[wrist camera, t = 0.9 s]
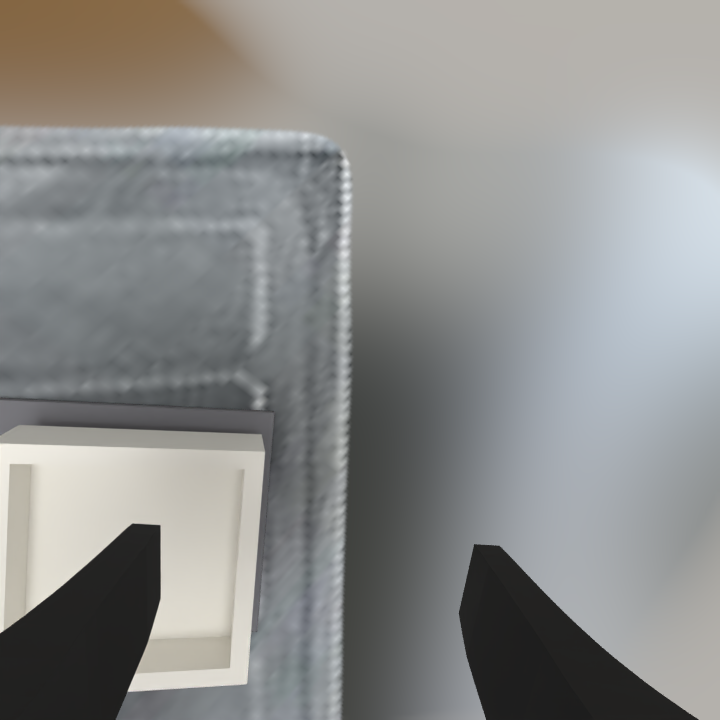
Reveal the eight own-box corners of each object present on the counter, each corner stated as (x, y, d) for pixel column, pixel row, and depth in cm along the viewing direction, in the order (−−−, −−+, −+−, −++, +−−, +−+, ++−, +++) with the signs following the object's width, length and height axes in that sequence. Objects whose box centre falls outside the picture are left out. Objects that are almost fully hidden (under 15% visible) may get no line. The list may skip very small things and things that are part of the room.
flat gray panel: (256, 626, 30) (257, 631, 30) (-258, 646, 25) (-268, 654, 25) (273, 411, 29) (274, 413, 29) (-260, 385, 24) (-270, 387, 24)
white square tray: (244, 623, 29) (246, 684, 25) (23, 631, 27) (-22, 701, 22) (260, 427, 28) (264, 451, 24) (31, 417, 26) (-13, 443, 21)
